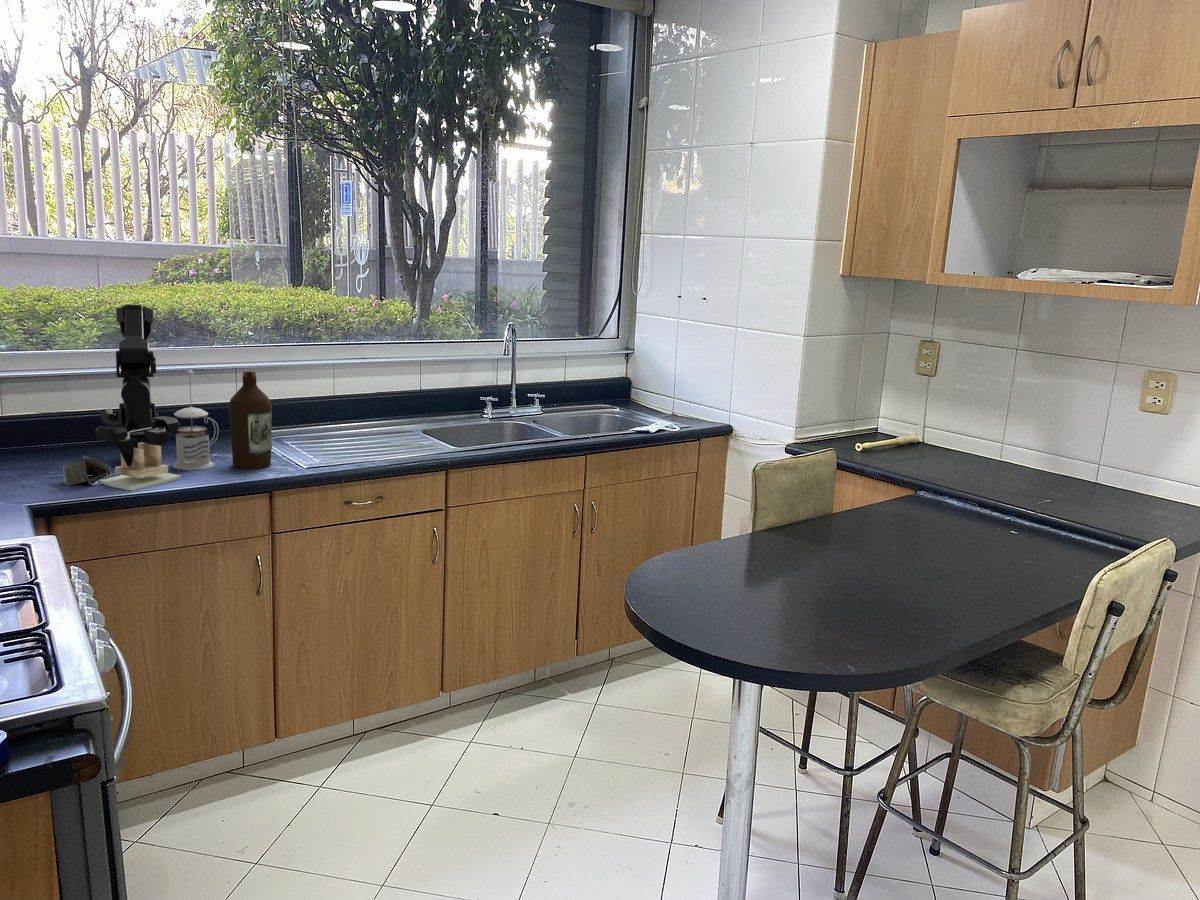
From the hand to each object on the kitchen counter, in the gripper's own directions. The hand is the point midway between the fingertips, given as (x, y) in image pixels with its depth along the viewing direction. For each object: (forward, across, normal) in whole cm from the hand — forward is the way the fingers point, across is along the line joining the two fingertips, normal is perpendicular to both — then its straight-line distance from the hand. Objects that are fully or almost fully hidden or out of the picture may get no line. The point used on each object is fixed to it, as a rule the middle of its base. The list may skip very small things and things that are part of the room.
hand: (140, 463), depth 214 cm
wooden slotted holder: (+2, 0, 0) cm, 2 cm away
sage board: (+4, 0, 0) cm, 5 cm away
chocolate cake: (+5, +7, -11) cm, 14 cm away
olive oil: (+5, -27, +8) cm, 29 cm away
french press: (+5, -19, -3) cm, 20 cm away
